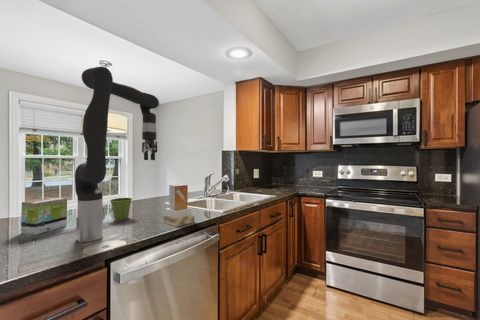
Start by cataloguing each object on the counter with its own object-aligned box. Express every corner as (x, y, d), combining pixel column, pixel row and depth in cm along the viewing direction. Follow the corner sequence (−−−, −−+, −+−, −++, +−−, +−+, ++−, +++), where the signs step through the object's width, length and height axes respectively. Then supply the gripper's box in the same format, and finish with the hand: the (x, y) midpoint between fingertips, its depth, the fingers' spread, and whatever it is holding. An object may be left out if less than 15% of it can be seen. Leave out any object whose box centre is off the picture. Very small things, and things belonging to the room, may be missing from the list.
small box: (174, 210, 126) (174, 185, 126) (168, 208, 130) (168, 184, 130) (187, 208, 132) (187, 184, 131) (181, 206, 136) (181, 183, 136)
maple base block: (174, 227, 122) (174, 219, 122) (163, 222, 131) (163, 215, 131) (194, 222, 131) (194, 215, 131) (182, 219, 139) (182, 212, 139)
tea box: (37, 235, 108) (37, 202, 108) (20, 233, 110) (20, 202, 110) (67, 226, 123) (67, 197, 123) (51, 224, 125) (51, 196, 125)
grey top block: (175, 218, 124) (175, 211, 124) (165, 215, 131) (165, 208, 130) (191, 215, 132) (191, 208, 132) (180, 212, 138) (180, 205, 138)
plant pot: (112, 217, 142) (112, 198, 142) (133, 215, 146) (133, 197, 146) (107, 222, 131) (107, 201, 131) (131, 220, 134) (130, 200, 134)
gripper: (137, 132, 137) (137, 160, 137) (148, 130, 127) (148, 160, 127) (150, 133, 142) (150, 160, 142) (161, 131, 132) (161, 160, 132)
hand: (149, 160), depth 135 cm, fingers open, 8 cm apart
